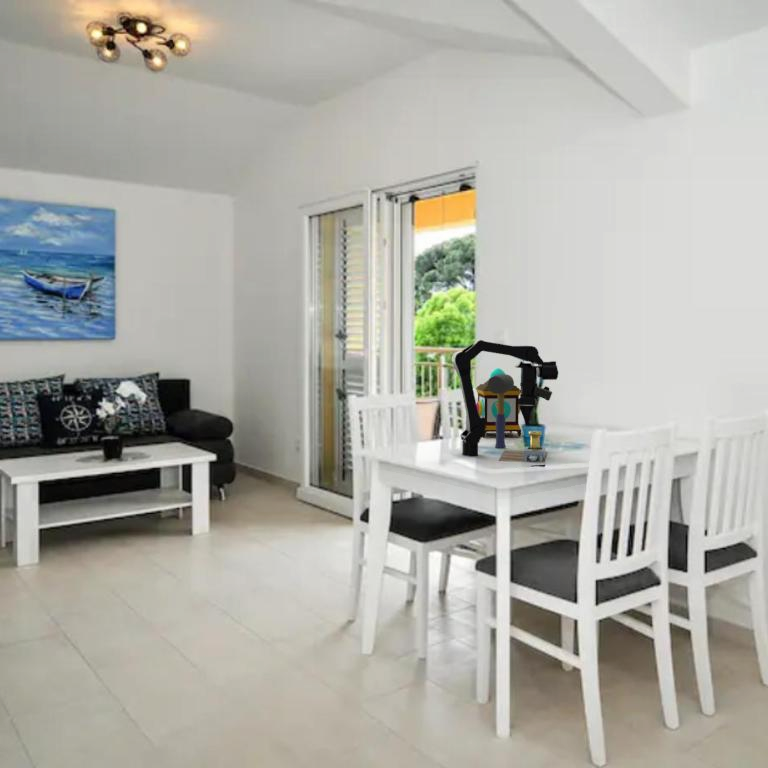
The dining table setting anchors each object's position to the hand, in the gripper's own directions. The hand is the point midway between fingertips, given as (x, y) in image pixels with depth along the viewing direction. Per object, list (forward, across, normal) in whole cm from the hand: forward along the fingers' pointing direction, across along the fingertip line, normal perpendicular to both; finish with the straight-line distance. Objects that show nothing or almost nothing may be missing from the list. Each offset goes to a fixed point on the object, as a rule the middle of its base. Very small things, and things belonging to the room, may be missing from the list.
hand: (528, 422), depth 284 cm
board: (+13, -7, +1) cm, 15 cm away
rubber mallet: (+13, +12, +11) cm, 21 cm away
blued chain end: (+11, -11, -3) cm, 16 cm away
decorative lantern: (+13, +58, +17) cm, 62 cm away
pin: (+12, -7, -3) cm, 14 cm away
